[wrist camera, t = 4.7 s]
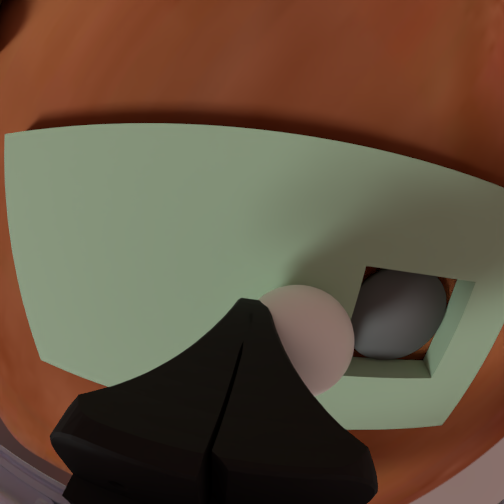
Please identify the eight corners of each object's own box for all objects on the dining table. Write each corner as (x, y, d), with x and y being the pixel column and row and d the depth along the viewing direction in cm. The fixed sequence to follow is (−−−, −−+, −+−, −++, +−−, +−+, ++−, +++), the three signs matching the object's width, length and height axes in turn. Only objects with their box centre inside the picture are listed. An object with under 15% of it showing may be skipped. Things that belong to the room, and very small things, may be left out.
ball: (252, 431, 9) (225, 347, 12) (353, 401, 10) (313, 331, 13) (262, 364, 7) (226, 268, 10) (393, 330, 8) (332, 256, 11)
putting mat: (435, 409, 15) (441, 425, 14) (52, 347, 17) (41, 359, 16) (525, 197, 10) (543, 204, 9) (24, 132, 12) (4, 134, 10)
